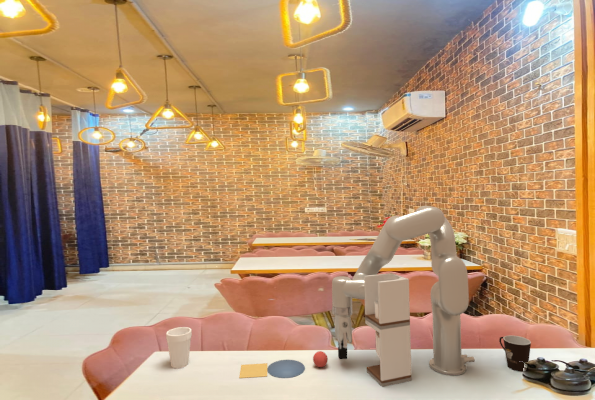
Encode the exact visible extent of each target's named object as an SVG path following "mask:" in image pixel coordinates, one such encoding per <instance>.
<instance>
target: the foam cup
mask: <svg viewBox="0 0 595 400" xmlns="http://www.w3.org/2000/svg"><path fill="white" fill-rule="evenodd" d="M192 331H193V330H192V328H190V327H187V326H182V327H181V326H179V327H174V328H170V329H168V330H167V331H166V333H165V338H166V342H167V347H168V348H167V349H168V353H169V354H168V355H169V360H170V365H171V366H172V367H173V368H172V369H182V368H185V367H187V366H188V365H189V361H190V360H189V359H190V352H191V350H190V349H191V341H192V340H191V339H192V337H193V336H192V335H193V334H192Z"/></svg>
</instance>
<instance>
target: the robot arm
mask: <svg viewBox="0 0 595 400" xmlns="http://www.w3.org/2000/svg"><path fill="white" fill-rule="evenodd" d="M427 234H428V236H429V240H430V254H431V256H430V257H431V261H430V262H431V270H432V272H433V273H434V274H435V275H436V276H437V277H438V281H436V282H435V283H433V284H432V286H431V288H430V303H431V311H432V347H433V349H432V351H433V353H432V355H433V357H432V358H430V359H429V361H428V365H429V367H430V369H432V370H433V371H435V372H437V373H440V374H443V375H449V376H459V375H463V374H465V373H466V372H467V363H475V362H476V361H475V357H474V356H468V355H467V354H462V330H461V329H462V328H461V327H462V324H461V323H462V322H461V321H462V320H461V315H462V314H463V313H465V312H466V311H467V309H468V306H469V301H470V299H469V298H470V297H469V296H470V295H469V278H468V276H469V274H468V270H467V266H466V264H465V262H464V261H463V260H462V259H461V258H460V257H459V256H458V254H457V246H456V237H455V232H454V228H453V225H451V223H450V221H449V220H448V218H447V217H446V216H445V214H444V212H443V210H442V209H440V208H438V207H436V206H431V205H422V206H420V207H418V208H416V210H415V211H414V212H411V213H408V214H405V215H393V216H390V217H389V218H387V220H386V221H385V222H384V225H383V226H382V228H381V230H380V232H379V233H378V235H377V237H376V238H375V241H374V242H373V244H372V246H371V248H370V249H369V250H368V252H367V254H366V255H365V257H364V259H363V260H362V261H361V263H360V265H359V266H358V268H357V270H356V272H355V273H354V275H353V277H352V278H350V277H349V276H343V275H340V276H339V275H337V276H335V277H333V278H332V281H331V295H332V296H331V298H332V299H331V300H332V302H331V304H332V305H331V307H332V308H331V309H332V312H331V313H332V315H333V316H334V333H335V336H336V337H335V338H336V340H337V345H338V347H337V357H338V359H339V360H347V359H348V343H350V344H352V343H353V332H352V330H353V329H352V318H351V317H352V315H353V299H356V300H357V299H358V300H365V286H364V276H368V275H378V273H379V272H380V271H381V270H382V268H383V267H384V266H385V265H388V264H389V263H390V262H391V261H392V259H394V256H395V254H396V252H397V251H398V249H399V248H400V245H401V244H402V242H404V241H408V240H412V239H415V238H418V237H421V236H424V235H427Z"/></svg>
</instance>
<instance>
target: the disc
mask: <svg viewBox="0 0 595 400" xmlns="http://www.w3.org/2000/svg"><path fill="white" fill-rule="evenodd" d="M305 367H306V366H305V365H304V364H303V362H301V361H299V360H294V359H281V360H280V359H279V360H277V361H273V362H272V363H270V364H269V365H267V374H269V375H270V376H272V377H274V378H279V379H289V378H295V377H298V376H299V375H301V374H303V373H304V371H305V369H306V368H305Z"/></svg>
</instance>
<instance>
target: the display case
mask: <svg viewBox="0 0 595 400" xmlns="http://www.w3.org/2000/svg"><path fill="white" fill-rule="evenodd" d="M364 286H365V299H364V320H365V325H367V326H368V327H370V328H371V329H372V330H374V331H375V352H376V355H377V357H378V359H379V361H380V363H379V364H375V365H374V364H373V365H370V366H366V373H367V375H369V376H370V377H371V378H372V379H373V381H375V382H376V383H377V384H378V385H380V386H381V387H382V388H385V387H388V386H393V385H398V384H404V383H407V382H408V383H409V382H412V350H411V349H412V348H411V314H410V308H411V307H410V279H409V278H407V277H404V276H401V275H398V274H395V273H393V272H389V273H379V274H378V273H377V275H368V276H364Z"/></svg>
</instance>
